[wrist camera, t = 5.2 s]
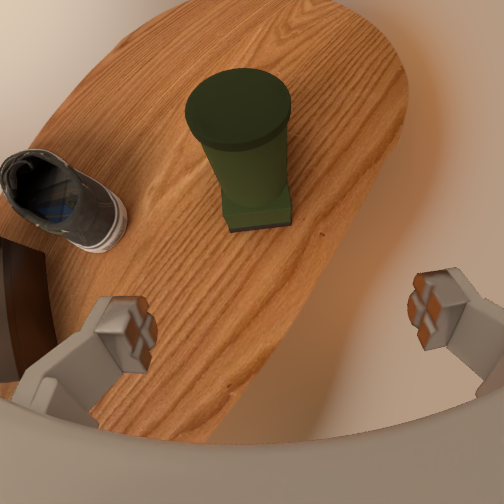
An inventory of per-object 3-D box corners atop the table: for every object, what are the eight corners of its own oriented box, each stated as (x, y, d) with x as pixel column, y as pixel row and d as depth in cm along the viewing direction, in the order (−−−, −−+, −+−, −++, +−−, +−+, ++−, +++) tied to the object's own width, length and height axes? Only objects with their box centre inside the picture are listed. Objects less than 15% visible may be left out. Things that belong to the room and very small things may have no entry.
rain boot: (292, 225, 25) (300, 141, 13) (229, 233, 26) (183, 157, 13) (276, 123, 28) (269, 20, 15) (222, 130, 28) (190, 32, 16)
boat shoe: (5, 194, 31) (-33, 173, 23) (35, 143, 32) (1, 115, 24) (101, 285, 26) (43, 271, 18) (145, 208, 27) (100, 169, 19)
